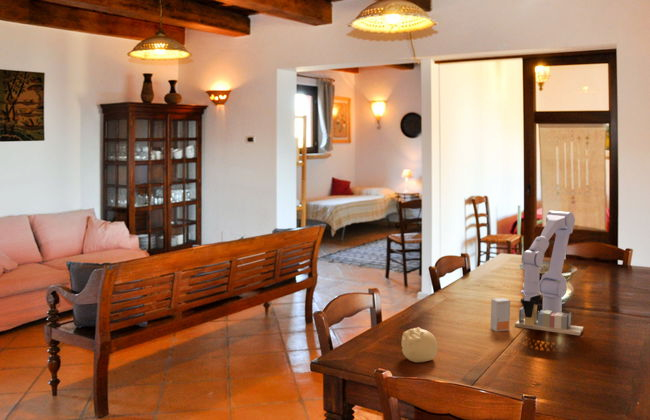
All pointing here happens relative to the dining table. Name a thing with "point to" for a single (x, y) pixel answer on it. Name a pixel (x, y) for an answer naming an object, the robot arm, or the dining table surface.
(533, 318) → the tan rectangular block
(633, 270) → the dining table surface
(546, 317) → the books
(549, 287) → the robot arm
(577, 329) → the shelf board
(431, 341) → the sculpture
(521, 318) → the bookends
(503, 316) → the skincare box
